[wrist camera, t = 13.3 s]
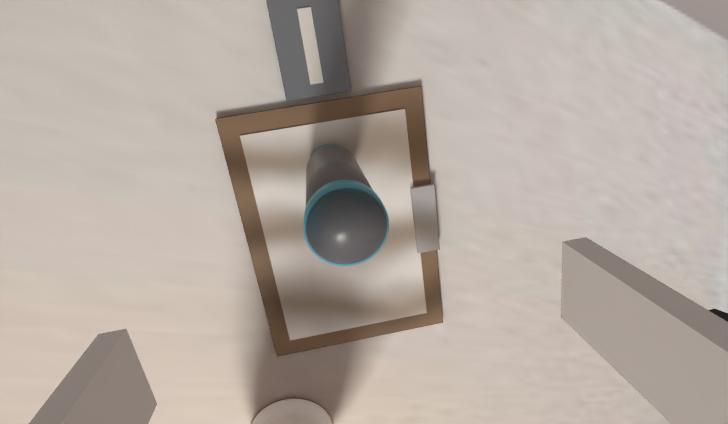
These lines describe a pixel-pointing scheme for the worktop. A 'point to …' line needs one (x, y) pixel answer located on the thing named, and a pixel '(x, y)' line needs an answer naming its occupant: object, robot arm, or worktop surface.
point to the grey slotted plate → (309, 47)
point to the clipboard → (288, 202)
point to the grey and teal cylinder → (342, 209)
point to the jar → (293, 413)
